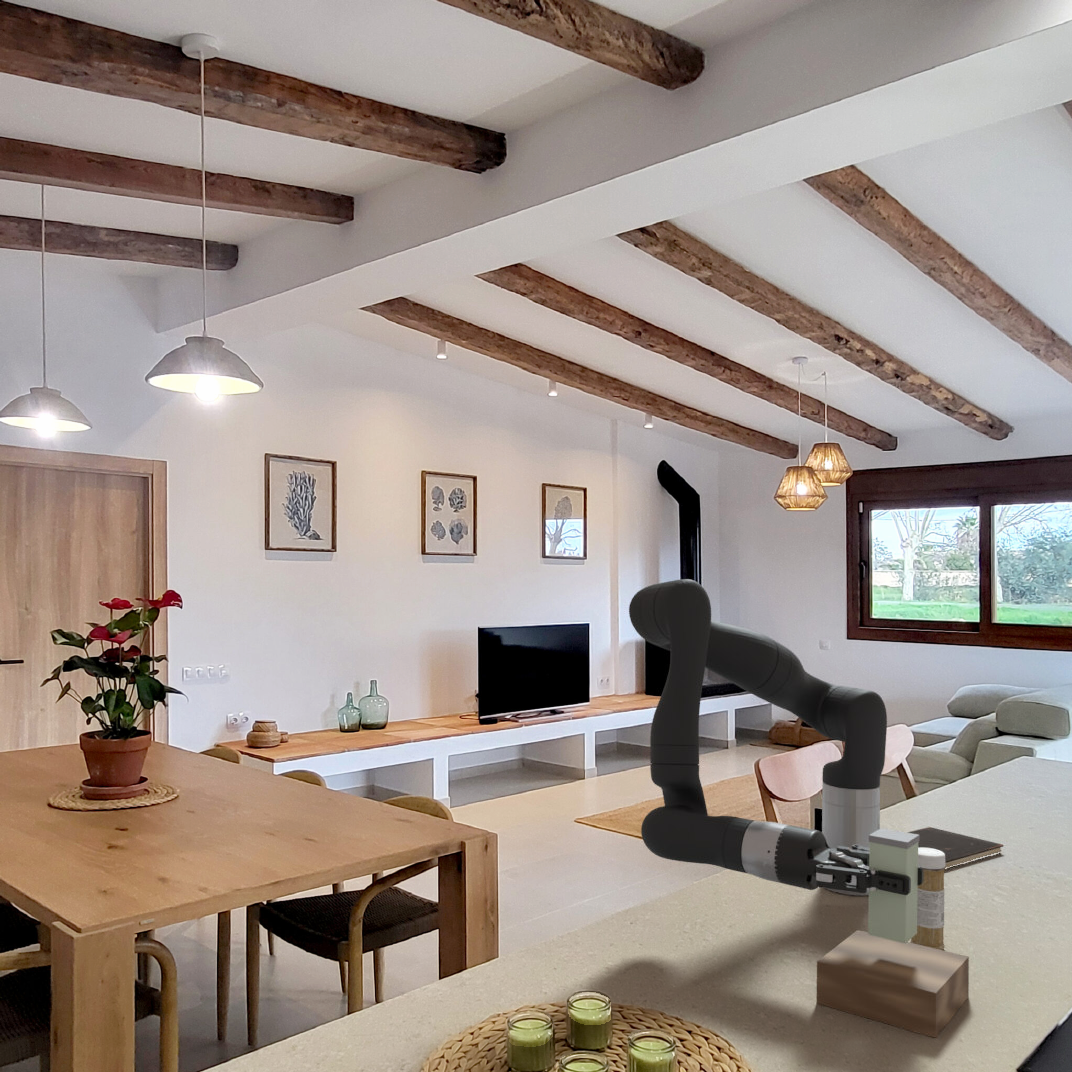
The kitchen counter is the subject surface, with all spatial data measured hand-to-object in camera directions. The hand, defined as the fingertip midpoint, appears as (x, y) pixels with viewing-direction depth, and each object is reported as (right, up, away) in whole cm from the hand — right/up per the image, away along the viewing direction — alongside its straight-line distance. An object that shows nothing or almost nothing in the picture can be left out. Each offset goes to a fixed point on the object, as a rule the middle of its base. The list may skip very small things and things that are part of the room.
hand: (915, 881), depth 121 cm
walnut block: (-2, -15, +1) cm, 15 cm away
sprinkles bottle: (+9, -16, +19) cm, 26 cm away
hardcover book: (+28, -19, +67) cm, 75 cm away
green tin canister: (-2, -7, +1) cm, 8 cm away
